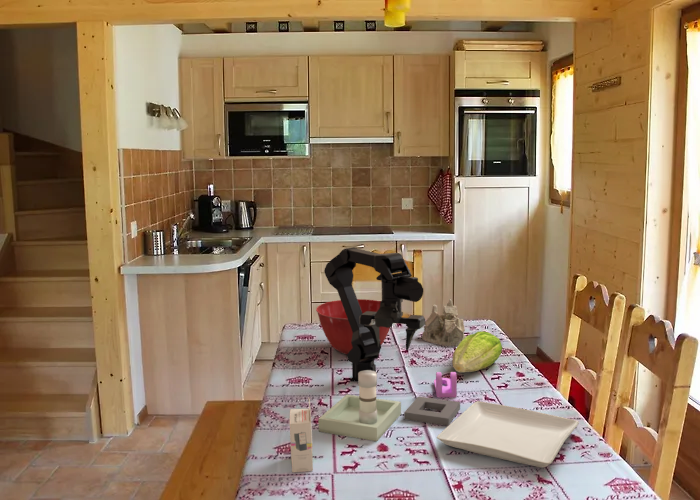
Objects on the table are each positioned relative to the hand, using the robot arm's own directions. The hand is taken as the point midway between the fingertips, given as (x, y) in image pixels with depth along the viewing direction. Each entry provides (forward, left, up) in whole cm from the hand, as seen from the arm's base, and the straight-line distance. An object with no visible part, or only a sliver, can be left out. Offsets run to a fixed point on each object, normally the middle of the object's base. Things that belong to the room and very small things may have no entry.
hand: (392, 348), depth 196 cm
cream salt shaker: (+2, -25, -12) cm, 28 cm away
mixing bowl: (-26, +34, -13) cm, 45 cm away
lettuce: (+18, +28, -13) cm, 36 cm away
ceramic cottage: (0, +56, -13) cm, 57 cm away
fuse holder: (+16, -13, -13) cm, 24 cm away
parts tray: (0, -25, -13) cm, 28 cm away
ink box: (-4, -51, -13) cm, 53 cm away
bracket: (+14, +6, -13) cm, 20 cm away
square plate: (+38, -22, -14) cm, 46 cm away
